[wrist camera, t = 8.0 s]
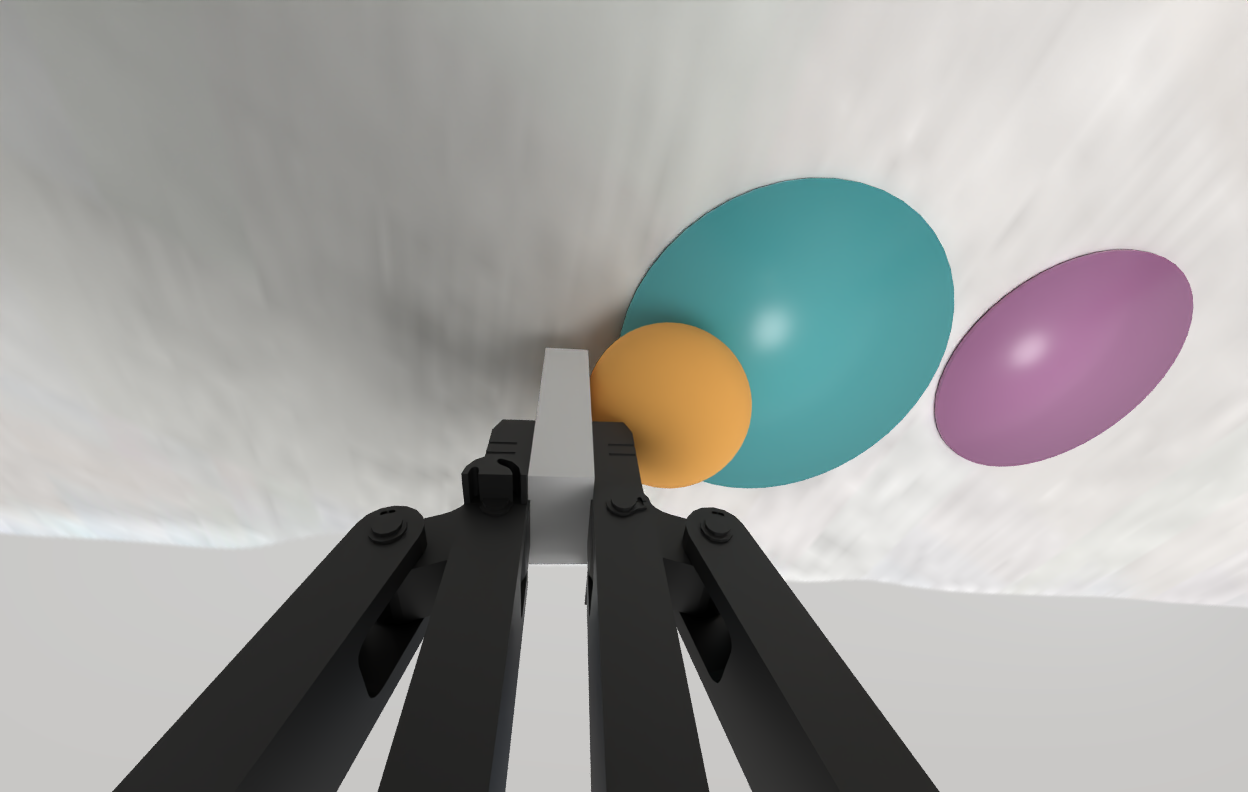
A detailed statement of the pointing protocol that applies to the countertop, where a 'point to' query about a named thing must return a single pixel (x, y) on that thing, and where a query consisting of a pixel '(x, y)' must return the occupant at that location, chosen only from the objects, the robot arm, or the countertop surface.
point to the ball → (674, 401)
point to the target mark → (810, 317)
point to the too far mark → (1063, 357)
